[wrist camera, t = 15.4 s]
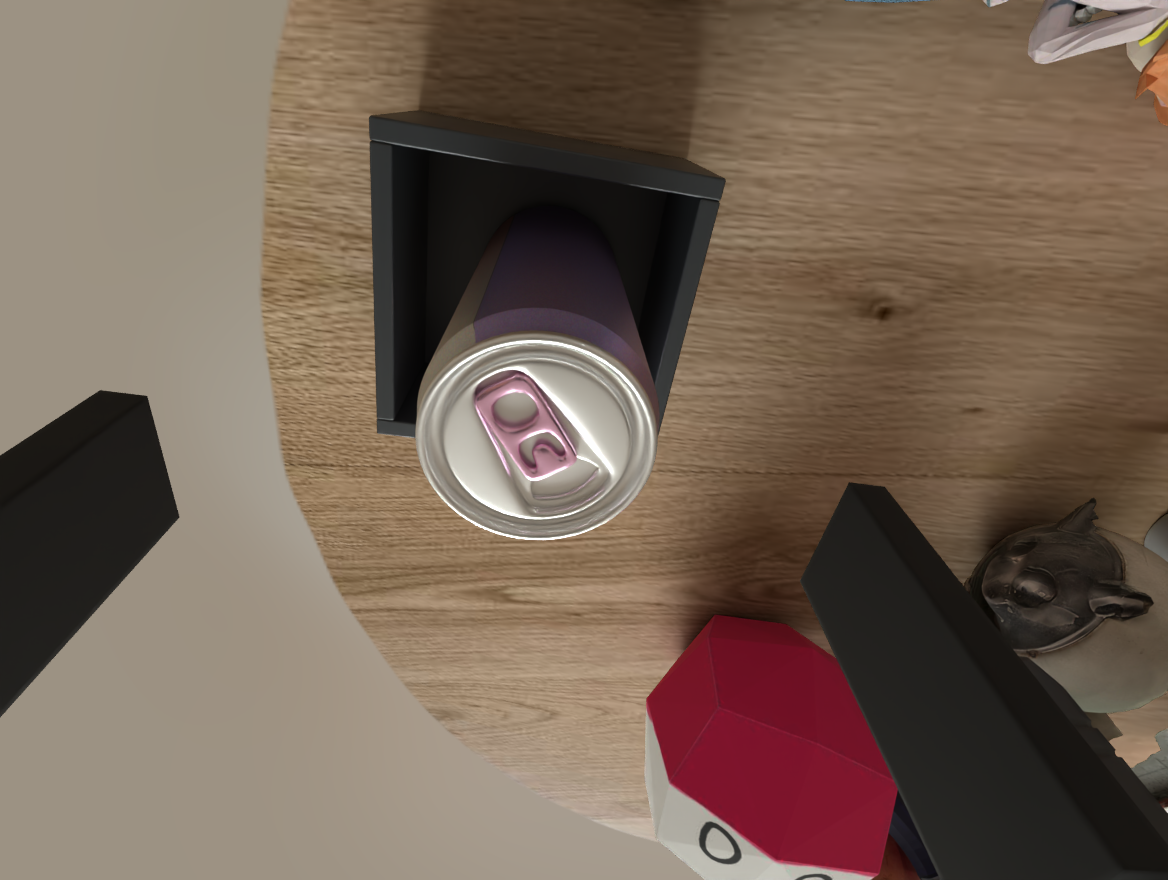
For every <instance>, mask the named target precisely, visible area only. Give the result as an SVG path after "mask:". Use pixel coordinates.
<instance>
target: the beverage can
mask: <svg viewBox="0 0 1168 880" xmlns="http://www.w3.org/2000/svg"><path fill="white" fill-rule="evenodd" d="M658 428H659V403H658V397H657V393H656V389H655V385H654V382H653V379H652V376H651V373H650V369H649V366H648V363H647V360H646V357H645V353H644V350H643V347H642V344H641V340H640V337H639V334H638V331H637V328H636V324H635V321H634V318H633V315H632V311H631V308H630V305H629V302H628V299H627V295H626V292H625V289H624V286H623V282H622V279H621V276H620V273H619V270H618V266H617V263H616V260H615V257H614V254H613V251H612V248H611V246H610V244H609V242H608V240H607V239H606V237H605V236H604V234H603V233H602V232H601V230H600V229H599V228H598V227H597V226H596V225H595V224H594V223H593V222H591V221H590V220H589V219H587V218H586V217H584V216H583V215H581V214H579V213H577V212H575V211H572V210H570V209H566V208H562V207H557V206H539V207H534V208H530V209H526V210H524V211H521V212H519V213H517V214H515V215H514V216H512V217H510V218H509V219H508V220H506V221H505V222H504V223H503V224H502V225H501V226H500V227H499V228H498V229H497V231H496V232H495V233H494V235H493V236H492V238H491V240H490V241H489V243H488V245H487V247H486V249H485V251H484V253H483V255H482V258H481V260H480V262H479V264H478V266H477V268H476V270H475V272H474V274H473V276H472V278H471V280H470V282H469V284H468V286H467V288H466V290H465V292H464V294H463V296H462V298H461V300H460V302H459V304H458V306H457V308H456V311H455V313H454V315H453V317H452V319H451V321H450V323H449V325H448V327H447V329H446V331H445V333H444V335H443V337H442V339H441V341H440V343H439V345H438V347H437V349H436V351H435V353H434V355H433V357H432V359H431V361H430V363H429V366H428V368H427V370H426V372H425V374H424V376H423V379H422V382H421V385H420V389H419V394H418V400H417V420H416V432H415V434H416V447H417V453H418V457H419V460H420V464H421V466H422V469H423V471H424V473H425V475H426V477H427V479H428V481H429V482H430V484H431V486H432V487H433V489H434V490H435V491H436V493H437V494H438V495H439V496H440V497H441V499H442V500H443V501H444V502H445V503H446V504H447V505H448V506H449V507H450V508H452V509H453V510H454V511H455V512H456V513H458V514H459V515H461V516H462V517H463V518H465V519H467V520H468V521H470V522H472V523H473V524H475V525H477V526H479V527H481V528H484V529H486V530H489V531H491V532H494V533H497V534H500V535H504V536H508V537H513V538H519V539H529V540H551V539H559V538H565V537H570V536H574V535H578V534H581V533H584V532H587V531H589V530H592V529H594V528H596V527H599V526H600V525H602V524H604V523H606V522H608V521H609V520H611V519H612V518H614V517H615V516H617V515H618V514H619V513H621V512H622V511H623V510H624V509H625V508H626V507H627V506H628V505H629V504H630V503H631V502H632V501H633V500H634V499H635V498H636V497H637V495H638V494H639V493H640V491H641V490H642V488H643V487H644V485H645V484H646V482H647V480H648V478H649V476H650V473H651V471H652V468H653V465H654V462H655V457H656V452H657V443H658Z"/></svg>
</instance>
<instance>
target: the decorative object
mask: <svg viewBox="0 0 1168 880" xmlns="http://www.w3.org/2000/svg"><path fill="white" fill-rule="evenodd" d="M645 784H646V789H647V794H648V799H649V805H650V810H651V815H652V820H653V826H654V831H655V836H656V839H657V840H658V841H659V842H660V843H662V844H663V845H664V846H665V847H666V848H668V849H669V850H670V851H671V852H673V853H674V854H675V855H676V856H677V857H679V858H680V859H681V860H682V861H683V862H684V863H686V864H687V865H688V866H689V867H691V868H692V869H693V870H694V871H695V872H696V873H698V874H699V875H700V876H701V877H702V878H704V879H705V880H871V879H872V878H874V877H875V876H877V875H878V874H879V873H880V868H881V864H882V859H883V855H884V850H885V846H886V841H887V837H888V832H889V828H890V823H891V818H892V814H893V809H894V805H895V800H896V796H897V791H898V789H897V786H896V784H895V782H894V780H893V778H892V776H891V774H890V772H889V769H888V767H887V765H886V763H885V761H884V759H883V757H882V755H881V752H880V750H879V748H878V746H877V744H876V742H875V740H874V738H873V735H872V733H871V731H870V729H869V727H868V725H867V723H866V720H865V718H864V716H863V714H862V712H861V710H860V708H859V706H858V703H857V701H856V699H855V697H854V695H853V693H852V691H851V689H850V686H849V684H848V682H847V680H846V678H845V676H844V674H843V672H842V669H841V667H840V665H839V663H838V661H837V659H836V658H835V657H833V656H832V655H830V654H829V653H827V652H826V651H825V650H823V649H822V648H820V647H819V646H817V645H816V644H814V643H813V642H811V641H810V640H809V639H807V638H806V637H804V636H803V635H801V634H800V633H798V632H797V631H795V630H794V629H793V628H791V627H790V626H788V625H787V624H782V623H775V622H767V621H760V620H752V619H745V618H737V617H730V616H722V615H714V616H713V617H712V618H711V620H710V621H709V622H708V623H707V625H706V626H705V627H704V628H703V629H702V631H701V632H700V633H699V634H698V635H697V637H696V638H695V639H694V640H693V642H692V643H691V644H690V645H689V646H688V648H687V649H686V650H685V651H684V652H683V654H682V655H681V656H680V657H679V658H678V660H677V661H676V662H675V663H674V665H673V666H672V667H671V669H670V670H669V671H668V672H667V674H666V675H665V676H664V677H663V679H662V680H661V681H660V682H659V684H658V685H657V686H656V687H655V689H654V690H653V691H652V692H651V694H650V695H649V696H648V697H647V699H646V739H645Z"/></svg>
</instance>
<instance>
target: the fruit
mask: <svg viewBox="0 0 1168 880" xmlns="http://www.w3.org/2000/svg"><path fill="white" fill-rule="evenodd" d="M871 880H920V878H919V877H918V875H917V872H916V870H915V869H914V867H913V865H912V863H911V862H910V860H909V859H908V857H907V856H906V854H905V853H904V851H903V850H902V849H901V847H900V846H899V845H898V843H897V842H896V841H895V840H894V839H893V837H892V836H891V835H890V834H889V833H888V837H887V841H886V846H885V850H884V855H883V859H882V864H881V868H880V873H879V874H878V875H877V876H875V877H874V878H872V879H871Z"/></svg>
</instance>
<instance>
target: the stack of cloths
mask: <svg viewBox="0 0 1168 880" xmlns="http://www.w3.org/2000/svg"><path fill="white" fill-rule="evenodd" d="M1155 738H1156V741H1157V742H1158V745H1159V747H1160V749H1161V751H1159V752H1157V753H1156V754H1151V755H1150V757H1149V758H1148V759H1147V760H1145V761H1143V762H1141V763H1139V764H1137V765H1135V767H1133V768H1131V769H1132V771H1133V772H1134V773H1135V774H1136V775H1137V777H1138V778H1139V779H1140V780H1141V782H1142V783H1143V784H1144V785H1145V786H1146V788H1147V789H1148V790H1149V791H1150V792H1151V794H1152V795H1153V796H1154V797H1155V798H1156V800H1157V801H1158V802H1159V803H1160V805H1161V806H1162V807H1163V808H1164V809H1165V811H1166V812H1167V813H1168V729H1165V730H1163V731H1160V732H1159V733H1157V734H1156V736H1155Z"/></svg>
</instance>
